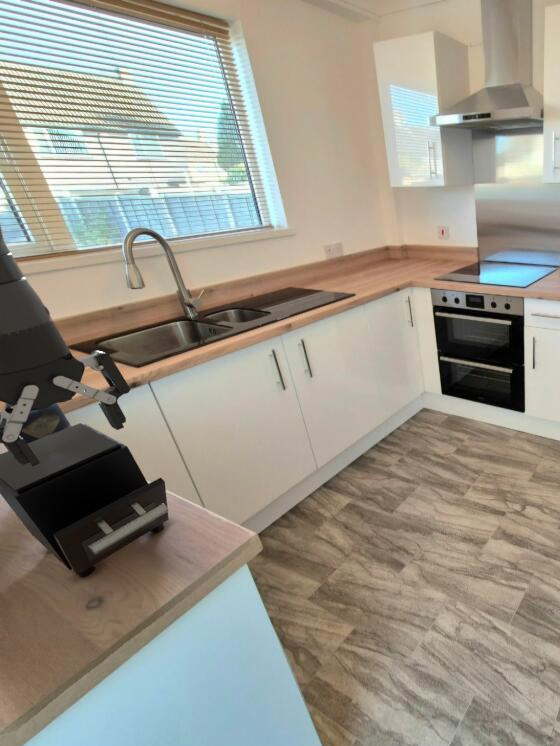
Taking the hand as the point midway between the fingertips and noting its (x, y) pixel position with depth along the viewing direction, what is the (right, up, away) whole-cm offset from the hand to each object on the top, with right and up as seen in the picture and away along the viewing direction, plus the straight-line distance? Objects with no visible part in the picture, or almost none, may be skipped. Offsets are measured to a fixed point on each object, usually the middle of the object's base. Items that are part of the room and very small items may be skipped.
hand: (78, 444), depth 55 cm
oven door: (-6, -19, +14) cm, 25 cm away
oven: (-15, -19, +20) cm, 31 cm away
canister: (-39, -13, +36) cm, 54 cm away
